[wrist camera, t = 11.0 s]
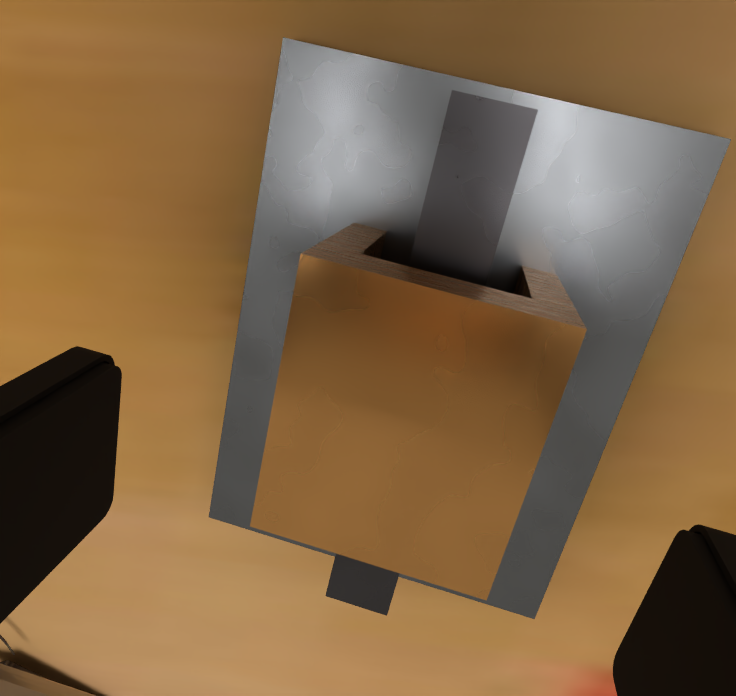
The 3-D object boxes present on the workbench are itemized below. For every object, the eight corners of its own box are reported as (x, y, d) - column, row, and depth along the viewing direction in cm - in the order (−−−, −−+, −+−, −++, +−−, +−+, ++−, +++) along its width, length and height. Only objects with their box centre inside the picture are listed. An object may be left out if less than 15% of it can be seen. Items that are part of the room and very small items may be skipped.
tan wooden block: (353, 222, 18) (300, 253, 13) (556, 274, 17) (587, 329, 12) (309, 429, 20) (249, 526, 15) (486, 481, 20) (486, 600, 14)
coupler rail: (293, 43, 18) (250, 19, 14) (717, 139, 16) (775, 137, 13) (220, 501, 23) (176, 560, 20) (532, 598, 22) (540, 678, 19)
